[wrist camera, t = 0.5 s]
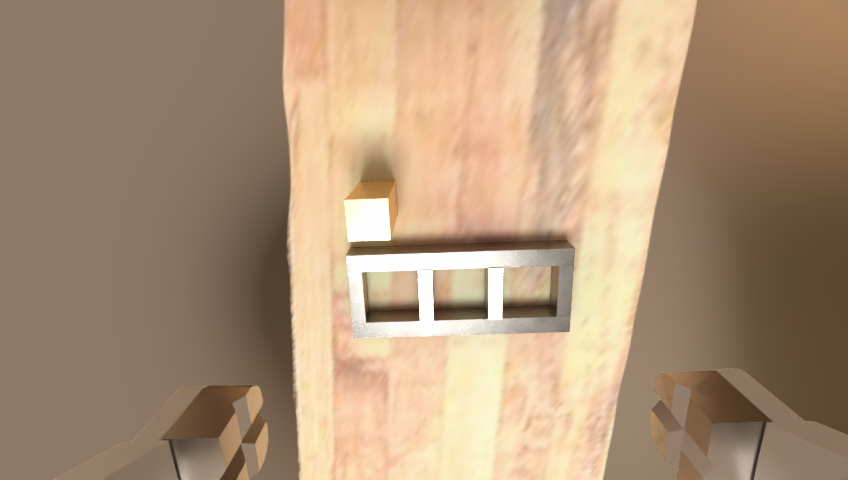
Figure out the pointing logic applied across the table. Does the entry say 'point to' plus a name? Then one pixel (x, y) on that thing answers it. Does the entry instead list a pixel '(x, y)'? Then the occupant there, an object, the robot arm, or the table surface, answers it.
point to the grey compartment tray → (464, 319)
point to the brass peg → (371, 211)
